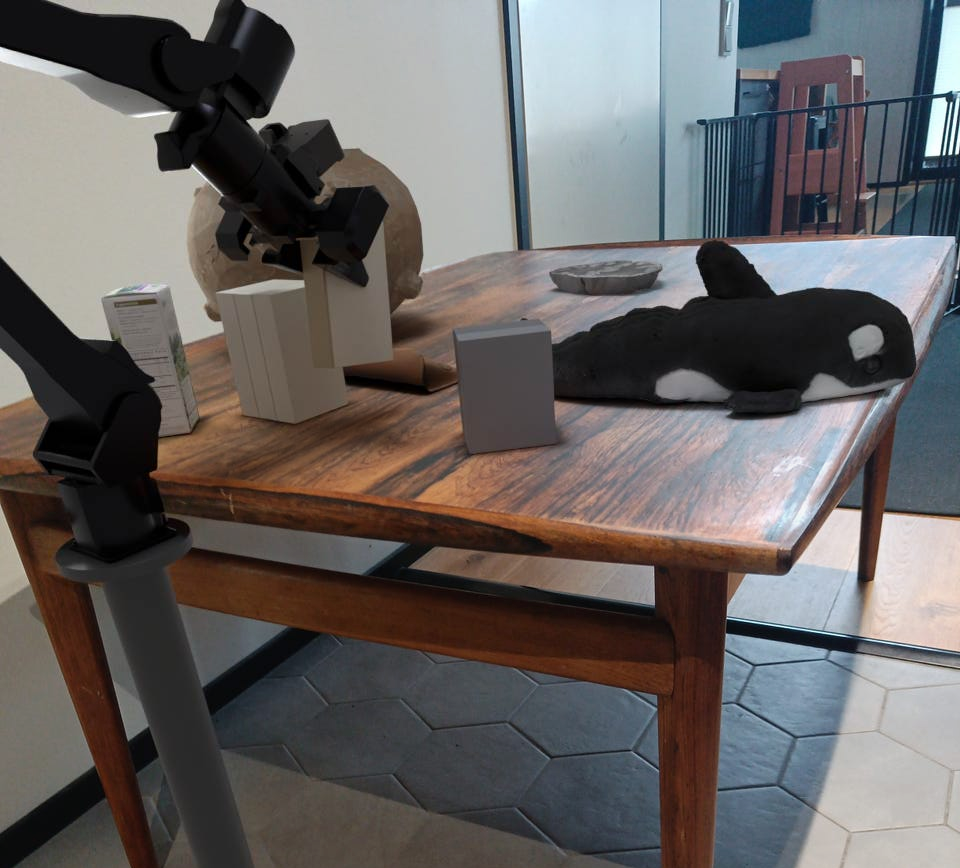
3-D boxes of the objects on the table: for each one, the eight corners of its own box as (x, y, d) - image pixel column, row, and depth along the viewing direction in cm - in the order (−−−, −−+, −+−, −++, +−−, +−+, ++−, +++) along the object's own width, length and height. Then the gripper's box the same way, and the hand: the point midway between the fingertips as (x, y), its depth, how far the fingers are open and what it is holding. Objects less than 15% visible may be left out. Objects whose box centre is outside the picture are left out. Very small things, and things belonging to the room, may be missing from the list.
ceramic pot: (219, 377, 117) (169, 163, 104) (203, 336, 145) (163, 163, 132) (459, 339, 125) (440, 136, 112) (400, 307, 153) (380, 141, 140)
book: (332, 368, 86) (317, 219, 81) (313, 367, 88) (297, 222, 83) (393, 360, 91) (383, 220, 86) (374, 359, 93) (363, 222, 88)
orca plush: (893, 429, 76) (920, 246, 69) (480, 403, 95) (467, 258, 87) (921, 367, 92) (946, 213, 85) (562, 355, 110) (557, 229, 103)
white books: (295, 424, 94) (269, 295, 88) (242, 415, 99) (215, 292, 93) (348, 404, 99) (328, 280, 93) (296, 396, 104) (273, 279, 98)
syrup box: (149, 425, 99) (111, 287, 92) (202, 419, 99) (168, 281, 92) (138, 440, 94) (96, 296, 87) (194, 433, 94) (157, 289, 87)
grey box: (469, 454, 80) (458, 340, 75) (462, 435, 85) (452, 328, 80) (556, 444, 81) (551, 330, 76) (544, 425, 86) (539, 318, 81)
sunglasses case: (473, 372, 105) (449, 328, 100) (443, 416, 103) (417, 373, 98) (366, 361, 115) (339, 321, 110) (337, 401, 113) (308, 362, 108)
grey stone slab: (686, 280, 151) (686, 261, 150) (631, 298, 140) (631, 278, 139) (591, 277, 163) (591, 259, 161) (534, 293, 152) (533, 275, 151)
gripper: (356, 71, 70) (457, 209, 83) (212, 95, 81) (322, 214, 93) (299, 193, 69) (411, 314, 81) (161, 200, 79) (279, 306, 92)
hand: (354, 282), depth 87 cm, fingers closed on book, 3 cm apart
